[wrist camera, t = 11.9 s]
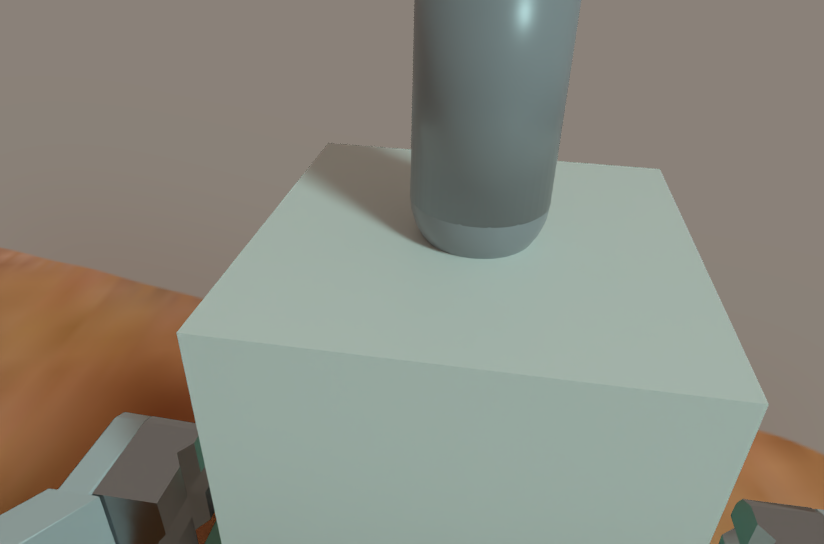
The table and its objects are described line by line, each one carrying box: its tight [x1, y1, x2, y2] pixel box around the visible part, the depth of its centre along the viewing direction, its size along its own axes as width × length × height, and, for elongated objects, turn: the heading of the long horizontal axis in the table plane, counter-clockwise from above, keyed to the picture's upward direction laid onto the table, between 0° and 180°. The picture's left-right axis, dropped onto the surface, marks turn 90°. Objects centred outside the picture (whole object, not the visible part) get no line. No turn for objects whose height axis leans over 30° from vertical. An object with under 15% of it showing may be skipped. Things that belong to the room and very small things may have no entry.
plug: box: [177, 0, 769, 544], centre depth 10 cm, size 5×4×18 cm
